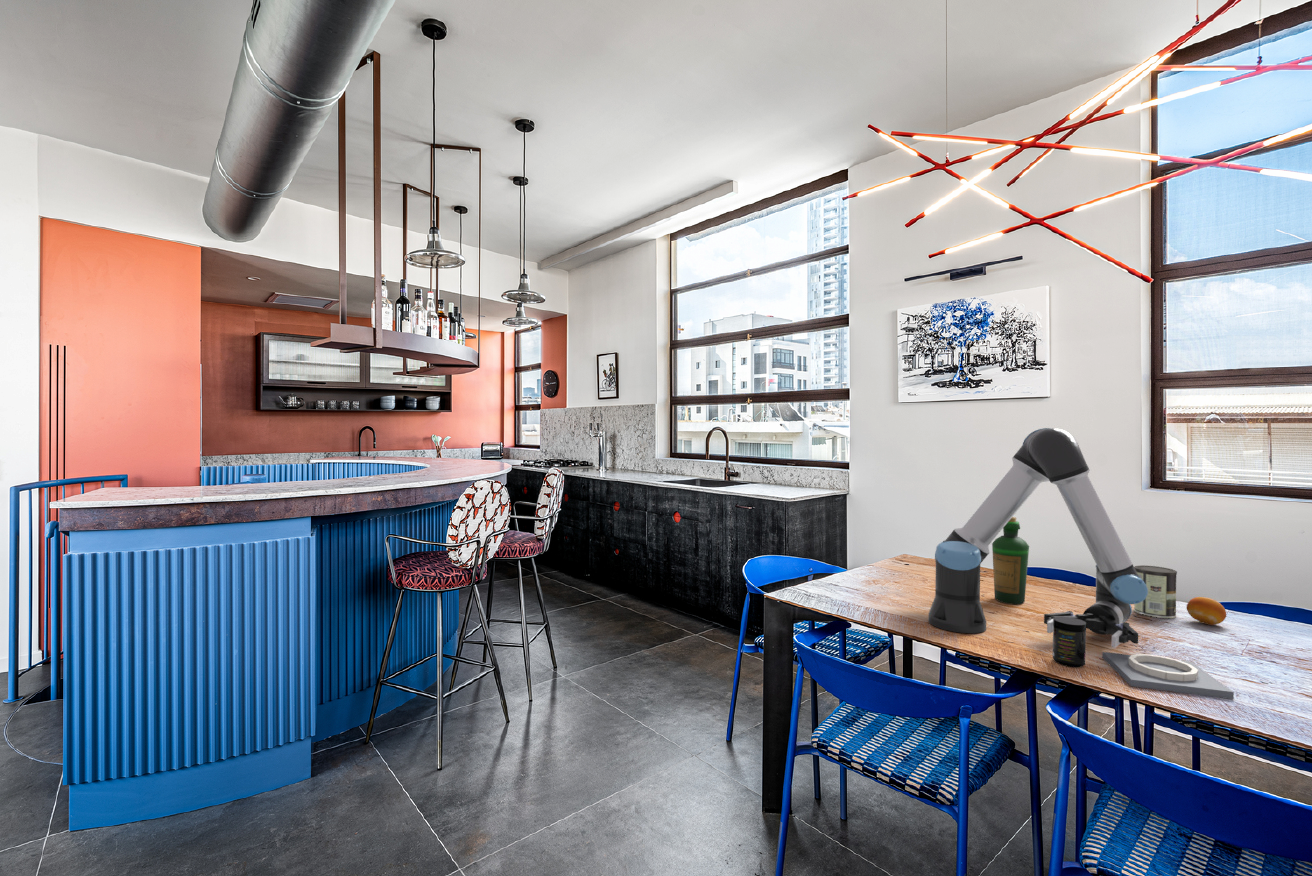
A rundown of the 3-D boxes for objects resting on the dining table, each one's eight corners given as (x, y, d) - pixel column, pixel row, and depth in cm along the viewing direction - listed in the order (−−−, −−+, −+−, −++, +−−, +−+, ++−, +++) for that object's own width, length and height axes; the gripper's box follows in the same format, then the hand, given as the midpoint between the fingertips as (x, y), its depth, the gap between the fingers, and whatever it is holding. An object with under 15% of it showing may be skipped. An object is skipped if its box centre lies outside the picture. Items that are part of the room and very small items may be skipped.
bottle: (984, 597, 206) (985, 515, 205) (1013, 596, 207) (1015, 515, 206) (1004, 606, 195) (1006, 519, 195) (1036, 605, 196) (1037, 519, 196)
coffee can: (1163, 610, 193) (1163, 566, 192) (1184, 620, 182) (1185, 573, 182) (1126, 607, 195) (1127, 564, 194) (1145, 617, 185) (1146, 571, 184)
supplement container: (1089, 670, 143) (1089, 626, 143) (1055, 665, 146) (1056, 622, 146) (1081, 660, 149) (1082, 618, 149) (1049, 656, 152) (1050, 615, 152)
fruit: (1215, 621, 181) (1216, 595, 181) (1232, 630, 173) (1232, 602, 173) (1181, 618, 184) (1181, 592, 184) (1195, 626, 176) (1196, 599, 176)
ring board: (1131, 686, 134) (1131, 672, 134) (1102, 657, 151) (1102, 645, 151) (1233, 699, 128) (1233, 685, 128) (1191, 667, 145) (1191, 655, 145)
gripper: (1161, 643, 155) (1142, 664, 141) (1049, 620, 174) (1024, 636, 160) (1161, 614, 155) (1143, 632, 141) (1050, 594, 174) (1024, 608, 160)
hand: (1080, 634), depth 151 cm, fingers open, 13 cm apart
